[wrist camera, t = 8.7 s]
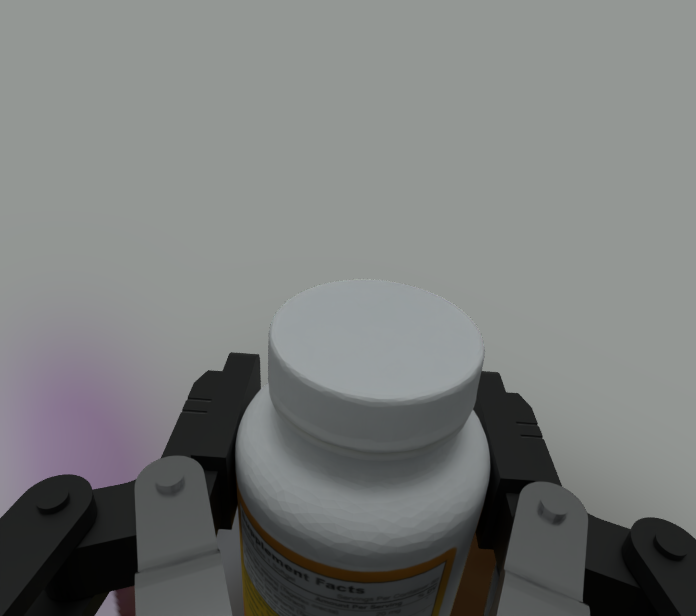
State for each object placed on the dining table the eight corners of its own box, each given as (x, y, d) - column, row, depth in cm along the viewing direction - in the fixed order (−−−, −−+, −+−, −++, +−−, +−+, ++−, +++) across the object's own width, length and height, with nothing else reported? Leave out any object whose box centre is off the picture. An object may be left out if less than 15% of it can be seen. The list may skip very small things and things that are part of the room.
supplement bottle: (333, 502, 18) (355, 241, 13) (474, 609, 15) (572, 328, 10) (203, 624, 14) (163, 325, 9) (357, 793, 12) (419, 497, 7)
